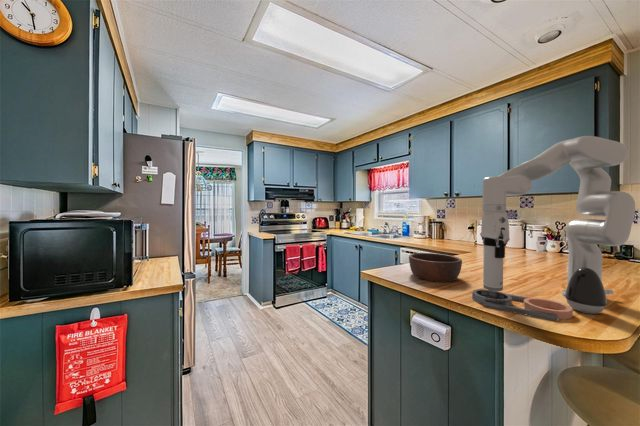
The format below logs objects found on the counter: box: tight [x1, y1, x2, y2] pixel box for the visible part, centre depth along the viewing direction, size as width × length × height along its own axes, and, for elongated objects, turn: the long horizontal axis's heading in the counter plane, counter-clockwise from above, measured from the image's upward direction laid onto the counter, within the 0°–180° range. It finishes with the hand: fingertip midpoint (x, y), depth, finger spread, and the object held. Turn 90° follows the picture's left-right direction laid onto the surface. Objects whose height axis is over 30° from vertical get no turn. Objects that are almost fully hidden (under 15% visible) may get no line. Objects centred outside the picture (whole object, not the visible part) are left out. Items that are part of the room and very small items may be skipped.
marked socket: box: [523, 297, 574, 320], centre depth 90 cm, size 12×12×2 cm
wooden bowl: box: [408, 252, 463, 283], centre depth 133 cm, size 25×25×10 cm
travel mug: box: [482, 238, 504, 292], centre depth 99 cm, size 6×7×20 cm
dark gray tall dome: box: [564, 268, 608, 315], centre depth 90 cm, size 10×10×15 cm
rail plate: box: [471, 288, 559, 322], centre depth 96 cm, size 24×17×2 cm
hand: (493, 255), depth 99 cm, fingers closed on travel mug, 6 cm apart
